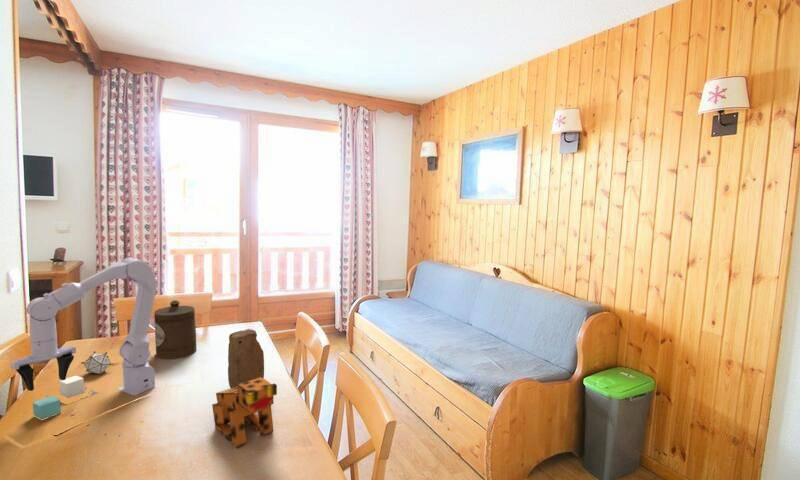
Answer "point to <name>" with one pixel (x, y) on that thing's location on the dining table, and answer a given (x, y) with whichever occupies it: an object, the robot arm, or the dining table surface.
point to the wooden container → (175, 331)
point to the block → (244, 358)
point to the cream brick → (72, 386)
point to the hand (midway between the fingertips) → (46, 384)
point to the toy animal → (244, 409)
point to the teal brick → (46, 407)
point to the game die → (97, 363)
